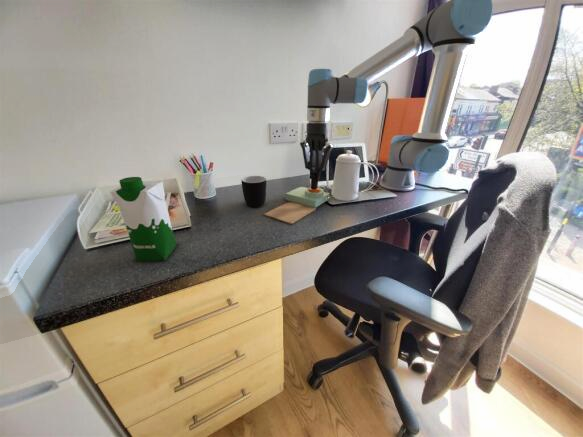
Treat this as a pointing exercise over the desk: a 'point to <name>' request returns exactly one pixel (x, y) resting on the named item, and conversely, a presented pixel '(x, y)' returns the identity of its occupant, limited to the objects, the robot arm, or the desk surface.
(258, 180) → the mug
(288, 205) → the coaster
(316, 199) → the push button box
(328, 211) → the desk surface
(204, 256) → the desk surface
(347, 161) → the coffeepot
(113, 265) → the desk surface
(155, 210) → the milk carton
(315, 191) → the switch
